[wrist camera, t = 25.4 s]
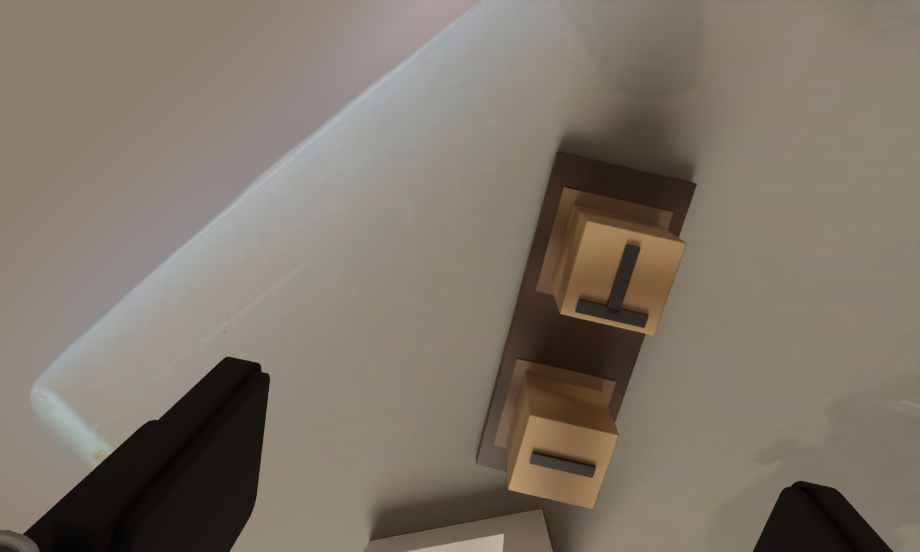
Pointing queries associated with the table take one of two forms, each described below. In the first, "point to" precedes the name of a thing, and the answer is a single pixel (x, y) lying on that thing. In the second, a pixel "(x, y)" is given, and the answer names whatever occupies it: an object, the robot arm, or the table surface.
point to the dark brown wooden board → (536, 313)
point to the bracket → (475, 536)
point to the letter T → (615, 269)
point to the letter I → (560, 441)
